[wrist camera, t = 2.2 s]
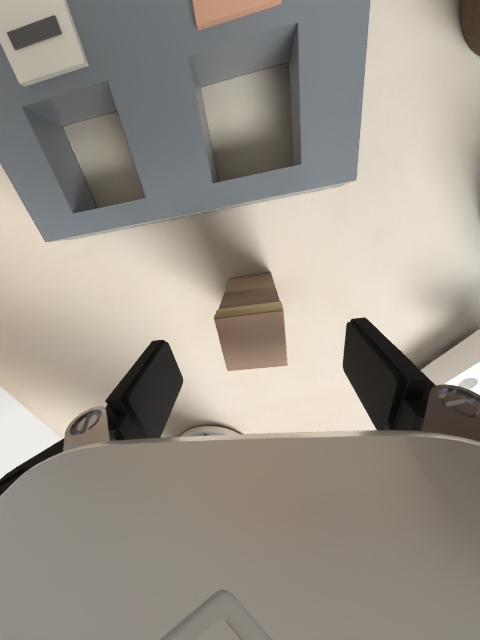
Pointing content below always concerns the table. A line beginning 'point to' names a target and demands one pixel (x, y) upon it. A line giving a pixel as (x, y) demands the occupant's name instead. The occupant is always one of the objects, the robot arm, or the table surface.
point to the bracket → (458, 365)
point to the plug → (251, 324)
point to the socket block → (171, 99)
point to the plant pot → (471, 23)
